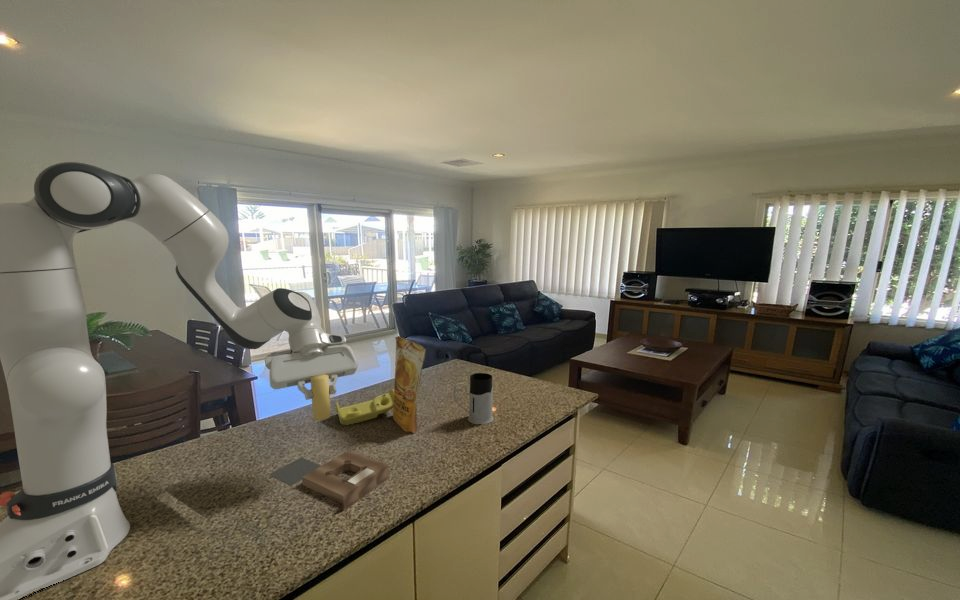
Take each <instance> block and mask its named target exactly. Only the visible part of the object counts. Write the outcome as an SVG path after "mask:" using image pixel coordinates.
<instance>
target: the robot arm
mask: <svg viewBox="0 0 960 600" xmlns="http://www.w3.org/2000/svg"><path fill="white" fill-rule="evenodd" d="M33 192H34V197H32V198H31V199H30V200H28V201H24V202H5V203H0V363H1V366H2V371H3V375H4V378H5V382H6V387H7V392H8V398H9V402H10V403H9V404H10V411H11V416H12V417H11V418H12V424H13V430H14V436H15V444H16V450H17V457H18V463H19V469H20V470H19V471H20V477H21V484H22V488H21V489H20V490H19V491H18V492H17V493H16V494H15V492H13V491H4V492H3V493H1V494H0V507H3V508H6V513H7V516H6V517H5V518H4V519H3V520H2V521H0V600H17V599H20V598H22V597H23V596H25V595H27V594H29V593H32V592H33V591H36V590H38V589H40V588H45V587H48V586H50V585H52V586H54V585H53V584H55V585H57V584H59V583H61V582H63V580H64V581H65V580H68V579H70V578H73V577H74V576H77V575H80V574H81V573H84V572H86V571H89V570H90V569H93V568H95V567H97V566H99V565H100V564H102V563H104V561H105V560H106V559H107V558H108V556H109V554H110V553H111V551H113V549H114V548H115V547H116V546H117V545H118V544H119V543H121V542H122V541H123V539H125V537H126V536H127V535H128V533H129V532H130V530H131V523H130V522H129V521H128V519H127V518H126V516H125V513H124V511H123V510H122V507H121V506H120V502H119V499H118V495H117V491H118V488H117V484H118V478H117V471H116V468H115V466H114V465H115V464H114V463H112V462H111V456H110V455H111V454H110V449H109V448H110V446H109V437H108V429H107V414H108V413H107V411H108V410H107V407H108V406H107V386H106V385H107V384H106V383H107V382H106V375H105V371H104V368H103V367H102V366H101V364H100V363H99V362H98V361H97V360H96V359H95V358H94V356H93V353H92V350H91V343H90V339H89V338H90V337H89V331H88V323H87V322H88V321H87V308H86V304H85V300H84V295H83V289H82V285H81V281H80V276H79V272H78V268H77V262H76V260H75V259H76V258H75V255H74V247H73V242H74V237H75V236H76V235H77V234H79V233H83V232H86V231H92V230H99V229H103V228H107V227H110V226H111V225H113V224H116V223H118V222H120V221H126V222H131V223H133V224H136V225H138V226H140V227H141V228H143V229H144V230H146V232H148V233H150V234H151V235H152V236H153V237H154V238H155V239H157V241H159V242H160V243H161V244H162V245H163V246H164V247H165V248H166V249H167V250H168V251H169V252H170V254H171V256H172V257H173V259H174V261H175V263H176V266H175V274H176V275H177V277H178V279H179V280H180V282H181V283H182V284H183V285H184V286H185V288H186V289H187V290H188V291H189V292H190V293H191V295H192V296H194V298H195V299H196V300H197V301H198V302H199V303H200V305H201V306H202V307H203V308H204V309H205V310H206V311H207V312H208V313H209V314H210V315H211V317H212V318H213V319H214V320H215V321H216V322H217V323H218V324H219V325H220V326H221V328H222V329H223V331H224V333H225V335H226V336H227V337H228V339H229V340H230V341H231V342H232V344H234V345H235V346H237V347H239V348H243V349H247V350H257V349H260V348H261V347H263V346H264V345H265V344H267V343H268V342H269V341H271V339H273V338H275V337H277V335H280V334H282V333H283V332H285V333H288V344H289V350H282V351H275V352H274V351H273V352H271V353H270V354H269V355H267V356H265V359H264V364H265V367H266V369H267V370H269V387H271V389H273V390H281V389H285V388H290V387H295V386H296V387H297V390H298V391H300V392H301V393H302V394H303V396H304V397H305V398H304V399H305V401H307V400H312V398H313V393H312V389H311V388H310V389H308V388H307V387H306V386H305V385H306V384H311V377H313V376H318V375H328V376H329V382H331V383H332V384H331V385H330V384H329V393H330V395H334V394H335V395H336V393H337V386H336V384H337V380H338V378H341V377H346V376H351V375H352V376H353V375H354V374H355V373H356V371H357V369H358V367H359V366H358V365H359V364H358V360H357V358H356V355H355V353H354V351H353V349H352V348H351V346H349V345H348V344H347V338H346V337H345V336H344V335H339V334H331V333H327V332H325V331H324V329H323V327H322V319H321V315H320V312H319V311H320V310H319V309H318V306H317V305H316V303H315V300H314V299H313V297H312V296H311V295H310V294H309V293H306V292H303V291H295V290H291V289H289V288H282V287H278V288H275V289H274V290H271V291H270V292H268V293H266V294H265V295H264V296H262V297H259V299H257V300H256V301H254V302H253V303H251V304H248V306H246V307H240V306H239V307H238V306H237V305H236V303H235V302H234V301H233V300H232V299H231V298H230V296H229V295H228V294H227V293H226V291H224V289H223V288H222V287H221V286H220V284H219V283H218V282H217V280H216V271H217V268H218V266H219V265H220V263H221V262H222V260H223V258H224V257H225V255H226V253H227V251H228V248H229V244H230V236H229V232H228V230H227V228H226V227H225V225H224V224H223V222H222V221H221V220H220V219H219V218H218V217H217V216H216V215H215V214H214V213H213V212H212V211H211V210H210V209H209V208H208V207H207V206H206V205H205V204H203V202H201V201H200V200H199V199H198V198H197V197H196V196H194V195H193V194H192V193H190V191H188V190H187V189H185V188H184V187H182V186H181V185H180V184H179V183H177V182H176V181H175V180H173V179H171V178H170V177H168V176H166V175H163V174H160V173H148V174H143V175H140V176H137V177H135V178H134V179H130V178H128V177H125V176H122V175H120V174H118V173H117V174H116V173H113V172H112V171H108V170H106V169H103V168H102V167H98V166H96V165H93V164H87V163H84V162H75V161H73V162H72V161H68V162H67V161H65V162H59V163H56V164H52V165H49V166H48V167H46V168H44V169H43V170H41V172H40V173H39V174H38V175H37V176H36V179H35V180H34V185H33ZM58 582H59V583H58ZM56 583H57V584H56ZM50 587H51V586H50ZM48 588H49V587H48ZM45 589H46V588H45Z"/></svg>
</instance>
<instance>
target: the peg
mask: <svg viewBox="0 0 960 600" xmlns="http://www.w3.org/2000/svg"><path fill="white" fill-rule="evenodd" d="M329 386H330V379H329V376H328V375H318V376H313V377H311V383H310V389H312V393H313V398H312V399H311V407H312V410H311V411H312V419H313V420H314V421H324V420H327V419H329V418H331V416H332V415H331V398H330V397H331V396H330V393H329Z"/></svg>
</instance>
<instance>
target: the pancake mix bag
mask: <svg viewBox="0 0 960 600" xmlns="http://www.w3.org/2000/svg"><path fill="white" fill-rule="evenodd" d="M394 338H395V363H394V364H395V369H394V388H393V389H394V403H393V408H392V419H393V420H394V422H395V424H397V425H398V426H399V427H400V428H401V429H402V430H403V432H405V433H412V434H415V433H416V432H417V431H418V422H417V420H418V419H417V418H418V417H417V409H418V408H417V402H418V401H417V400H418V393H419V386H420V383H421V379H422V378H421V376H422V373H423V372H422V371H423V367H424V363H425V358H426V351H427V350H426V348H425V346H423V345H422V344H419V343H418V342H414V341H412V340H411V339H408V338H406V337H402V336H400V335H397V336H396V337H394Z"/></svg>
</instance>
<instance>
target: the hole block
mask: <svg viewBox="0 0 960 600" xmlns="http://www.w3.org/2000/svg"><path fill="white" fill-rule="evenodd" d="M320 466H321V467H319V468H317V469H315V470H314V471H312V472H310V473H308V474H307V475H305V476H303V477H302V480H301V482H302V486H304V487H305V488H308V489H309V490H312V491H314V492H316V493H319V494H321V495H322V496H324V497H326V498H329V499H331V500H333V501H335V502H337V503H340V504H341V505H339V506H337V508H338V509H339V510H341V511H346V510H347V509H349V508H350V507H352V506H353V505H354V504H356V503H357V502H358V501H359V500H361V499H362V498H363V497H365V496H366V495H368V494H369V493H370V492H371V491H373V490H374V489H376V488H377V487H378V486H379V485H381V484H382V483H384V482H386V481H387V480H388V479H389V478H390V477H389V475H390V474H389V473H390V472H389V470H390V469H389V464H387V463H386V462H382V461H379V460H377V459H374V458H371V457H369V456H366V455H363V454H360V453H358V452H355V451H353V450H347V451H345V452H343V453H342V454H340V455H338V456H336V457H335V458H333V459H331V460H330V461H328V462H326V463H324V464H323V465H320ZM345 472H346V473H347V472H353V473H354V474H353V475H351V476H350V477H346V478H341V477H339V476H340V475H342V474H343V473H345Z"/></svg>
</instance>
